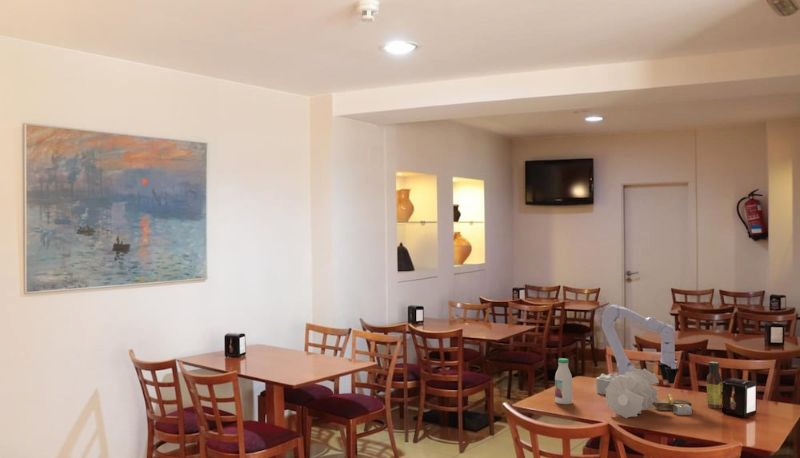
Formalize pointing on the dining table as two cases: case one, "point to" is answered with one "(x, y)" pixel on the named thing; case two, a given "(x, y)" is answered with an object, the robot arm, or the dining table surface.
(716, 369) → the sauce bottle
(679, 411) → the white block with knob
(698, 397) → the dining table surface
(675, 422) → the dining table surface
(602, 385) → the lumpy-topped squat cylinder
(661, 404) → the tan flat board
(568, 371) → the milk bottle
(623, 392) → the spiral staircase
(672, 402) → the lever
